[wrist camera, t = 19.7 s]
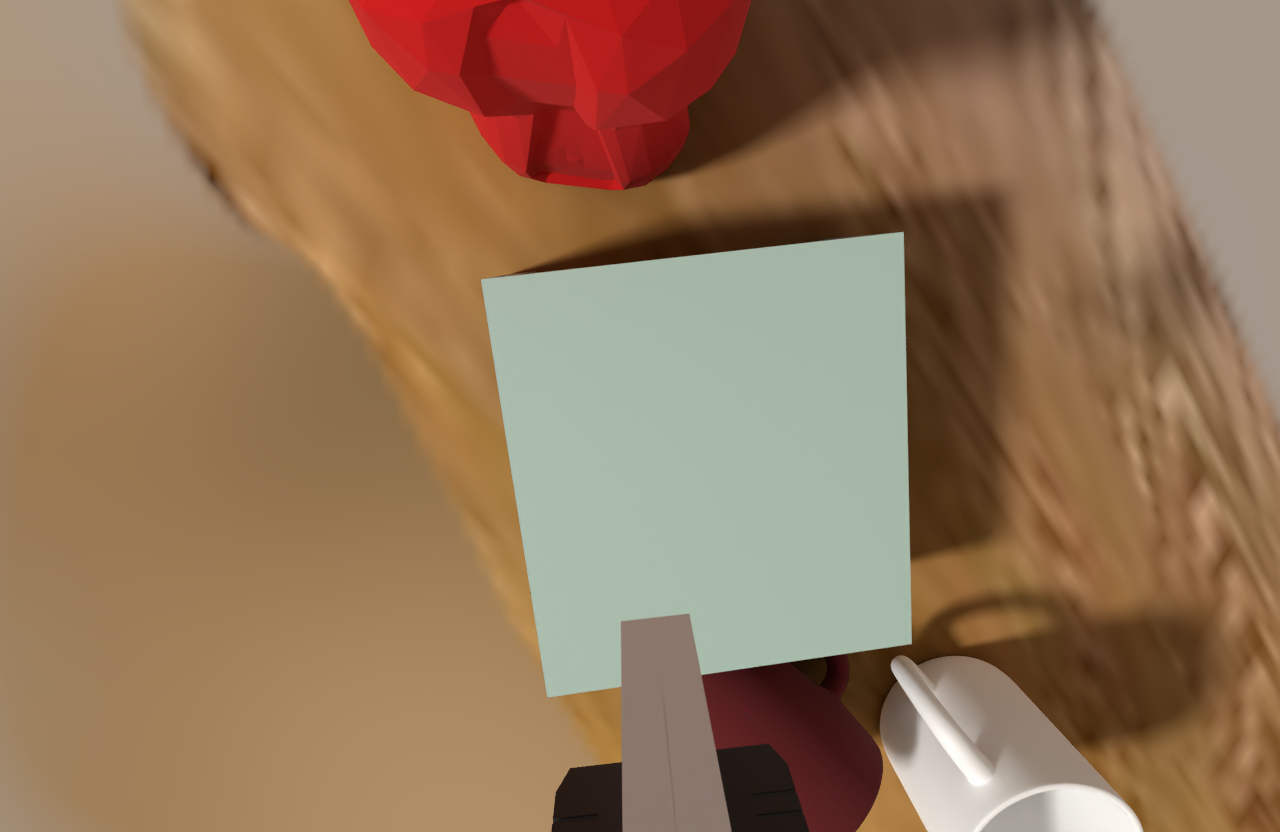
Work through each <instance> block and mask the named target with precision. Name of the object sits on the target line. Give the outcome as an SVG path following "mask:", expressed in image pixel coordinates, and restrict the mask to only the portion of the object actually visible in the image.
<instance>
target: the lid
mask: <svg viewBox="0 0 1280 832" xmlns="http://www.w3.org/2000/svg"><path fill="white" fill-rule="evenodd" d="M481 283H482V289H483V295H484V302H485V308H486V314H487V321H488V327H489V333H490V339H491V346H492V352H493V358H494V365H495V371H496V377H497V383H498V390H499V396H500V402H501V409H502V415H503V421H504V427H505V434H506V440H507V446H508V453H509V459H510V465H511V471H512V478H513V484H514V490H515V497H516V503H517V509H518V516H519V522H520V528H521V534H522V541H523V547H524V553H525V560H526V566H527V572H528V578H529V585H530V591H531V597H532V604H533V610H534V616H535V622H536V629H537V635H538V641H539V648H540V654H541V660H542V667H543V673H544V679H545V685H546V692H547V697H554V696H561V695H568V694H575V693H582V692H588V691H595V690H602V689H609V688H616V687H621V621H628V620H637V619H646V618H654V617H663V616H672V615H681V614H690V620H691V625H692V630H693V635H694V640H695V645H696V651H697V656H698V661H699V666H700V671H701V675H704V674H711V673H718V672H725V671H731V670H738V669H745V668H752V667H759V666H765V665H772V664H779V663H786V662H793V661H799V660H806V659H813V658H820V657H827V656H833V655H840V654H847V653H854V652H861V651H867V650H874V649H881V648H888V647H895V646H901V645H908V644H912V630H911V579H910V528H909V477H908V426H907V375H906V324H905V273H904V232H897V233H887V234H878V235H869V236H860V237H851V238H842V239H833V240H824V241H815V242H807V243H798V244H789V245H780V246H771V247H762V248H753V249H744V250H735V251H727V252H718V253H709V254H700V255H691V256H682V257H673V258H664V259H655V260H646V261H638V262H629V263H620V264H611V265H602V266H593V267H584V268H575V269H566V270H557V271H549V272H540V273H531V274H522V275H513V276H504V277H495V278H486V279H481Z"/></svg>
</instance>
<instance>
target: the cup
mask: <svg viewBox="0 0 1280 832" xmlns="http://www.w3.org/2000/svg"><path fill="white" fill-rule="evenodd" d="M891 670H892V672H893V674H894V675H895V677H896V679H897V680H898V681H897V682H896V683H895V684H894V686H893V687H892V688H891V690H890V692H889V693H888V695H887V697H886V699H885V702H884V704H883V707H882V711H881V716H880V735H881V740H882V743H883V746H884V749H885V751H886V754H887V756H888V758H889V760H890V762H891V764H892V766H893V768H894V770H895V772H896V774H897V775H898V777H899V779H900V781H901V783H902V785H903V787H904V788H905V790H906V792H907V794H908V796H909V798H910V800H911V801H912V803H913V805H914V807H915V809H916V811H917V813H918V814H919V816H920V818H921V820H922V822H923V824H924V826H925V828H926V829H927V831H928V832H1143V829H1142V826H1141V823H1140V821H1139V819H1138V817H1137V816H1136V814H1135V813H1134V811H1133V810H1132V809H1131V808H1130V807H1129V806H1128V804H1127V803H1126V802H1125V801H1124V800H1123V799H1122V798H1121V797H1120V796H1119V795H1118V794H1117V793H1116V792H1115V790H1114V789H1113V788H1112V787H1111V786H1110V785H1109V784H1108V783H1107V782H1106V781H1105V780H1104V779H1103V777H1102V776H1101V775H1100V774H1099V773H1098V772H1097V771H1096V770H1095V769H1094V768H1093V767H1092V766H1091V765H1090V763H1089V762H1088V761H1087V760H1086V759H1085V758H1084V757H1083V756H1082V755H1081V754H1080V753H1079V752H1078V751H1077V749H1076V748H1075V747H1074V746H1073V745H1072V744H1071V743H1070V742H1069V741H1068V740H1067V739H1066V738H1065V736H1064V735H1063V734H1062V733H1061V732H1060V731H1059V730H1058V729H1057V728H1056V727H1055V726H1054V725H1053V724H1052V722H1051V721H1050V720H1049V719H1048V718H1047V717H1046V716H1045V715H1044V714H1043V713H1042V712H1041V711H1040V710H1039V708H1038V707H1037V706H1036V705H1035V704H1034V703H1033V702H1032V701H1031V700H1030V699H1029V698H1028V697H1027V695H1026V694H1025V693H1024V692H1023V691H1022V690H1021V689H1020V688H1019V687H1018V686H1017V685H1016V684H1015V683H1014V682H1013V681H1012V680H1011V679H1010V678H1009V677H1008V676H1007V675H1006V674H1005V673H1003V672H1002V671H1001V670H999V669H998V668H996V667H995V666H993V665H991V664H989V663H987V662H985V661H982V660H979V659H976V658H972V657H966V656H945V657H939V658H935V659H931V660H928V661H926V662H923V663H921V664H919V665H916V664H915V663H914V662H913V661H912V660H910V659H909V658H908V657H906V656H903V655H899V656H896V657H894V659H893V660H892V662H891Z"/></svg>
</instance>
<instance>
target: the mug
mask: <svg viewBox="0 0 1280 832" xmlns="http://www.w3.org/2000/svg"><path fill="white" fill-rule="evenodd" d="M825 658H826V663H827V672H826V676H825V678H824V680H823V682H822V683H821V685H818V684H817V683H816V682H814V681H813V680H811V679H810V678H809V677H807V676H806V675H805V674H804V673H802V672H801V671H800V670H798V669H797V668H796V667H794V666H793V665H792V664H791V663H789V662H786V663H779V664H772V665H765V666H759V667H752V668H745V669H738V670H731V671H725V672H718V673H711V674H704V675H701V676H702V681H703V687H704V692H705V697H706V702H707V707H708V712H709V718H710V723H711V728H712V733H713V738H714V743H715V748H716V749H725V748H734V747H742V746H751V745H760V744H768V743H769V744H770V745H771V747H772V748H773V749H774V750H775V751H776V752H777V753H778V754H779V755H780V756H781V757H782V758H783V760H784V761H785V762H786V763H787V764H788V767H789V770H790V773H791V776H792V779H793V783H794V786H795V789H796V794H797V795H798V798H799V801H800V804H801V807H802V811H803V815H804V816H805V819H806V822H807V825H808V828H809V831H810V832H856V830H857V829H858V828H859V827H860V825H861V824H862V822H863V821H864V820H865V818H866V816H867V815H868V813H869V811H870V810H871V808H872V806H873V804H874V802H875V799H876V797H877V794H878V791H879V788H880V785H881V780H882V773H883V761H882V755H881V752H880V749H879V747H878V745H877V744H876V742H875V741H874V740H873V739H872V737H871V736H870V735H869V734H868V733H867V732H866V730H865V729H864V728H863V727H862V726H861V725H860V723H859V722H858V721H857V720H856V719H855V718H854V716H853V715H852V714H851V713H850V712H849V711H848V710H847V709H846V707H845V706H844V705H843V704H842V702H841V701H840V697H841V695H842V694H843V692H844V691H845V689H846V687H847V684H848V680H849V663H848V658H847V655H846V654H840V655H833V656H827V657H825Z"/></svg>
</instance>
